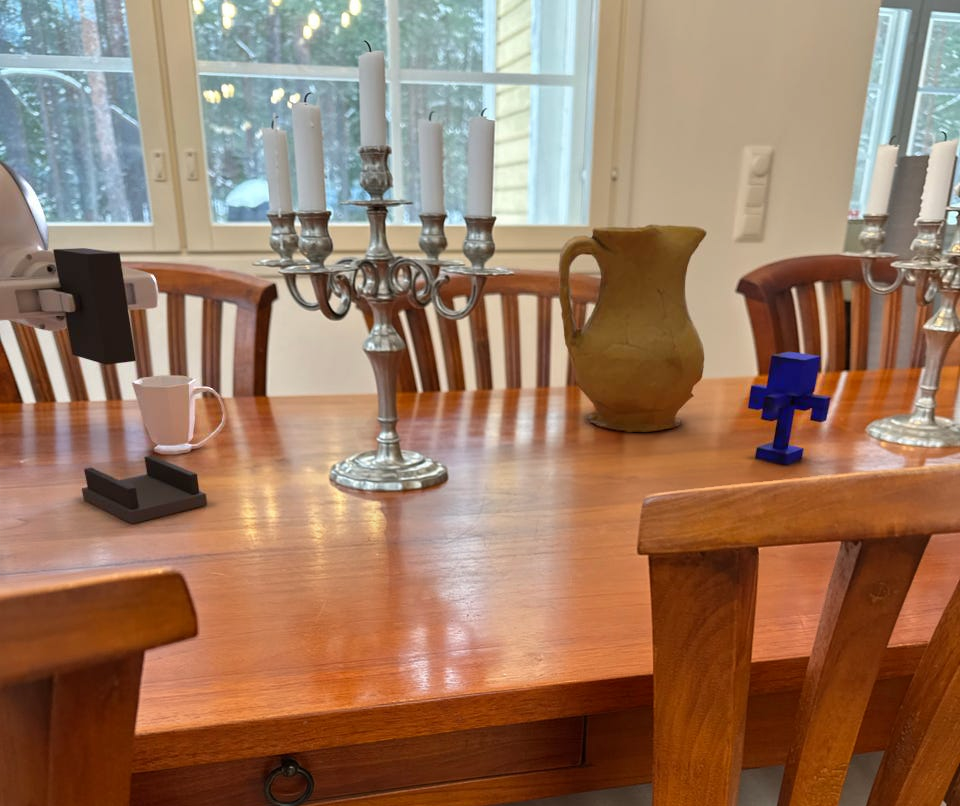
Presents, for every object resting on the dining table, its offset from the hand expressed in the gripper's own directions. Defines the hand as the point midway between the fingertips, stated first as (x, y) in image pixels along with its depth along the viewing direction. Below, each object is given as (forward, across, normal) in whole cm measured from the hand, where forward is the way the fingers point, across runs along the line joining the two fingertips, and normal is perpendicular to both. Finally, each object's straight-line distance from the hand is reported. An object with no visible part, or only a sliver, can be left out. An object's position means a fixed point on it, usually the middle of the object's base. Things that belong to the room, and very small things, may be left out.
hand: (98, 301), depth 97 cm
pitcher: (+30, +58, +17) cm, 68 cm away
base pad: (+17, -7, +17) cm, 25 cm away
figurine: (+54, +56, +17) cm, 80 cm away
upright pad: (-1, 0, +6) cm, 6 cm away
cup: (+2, +7, +17) cm, 18 cm away
